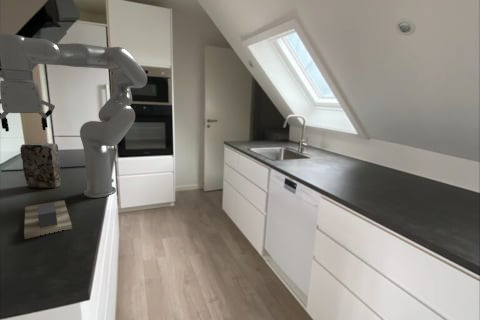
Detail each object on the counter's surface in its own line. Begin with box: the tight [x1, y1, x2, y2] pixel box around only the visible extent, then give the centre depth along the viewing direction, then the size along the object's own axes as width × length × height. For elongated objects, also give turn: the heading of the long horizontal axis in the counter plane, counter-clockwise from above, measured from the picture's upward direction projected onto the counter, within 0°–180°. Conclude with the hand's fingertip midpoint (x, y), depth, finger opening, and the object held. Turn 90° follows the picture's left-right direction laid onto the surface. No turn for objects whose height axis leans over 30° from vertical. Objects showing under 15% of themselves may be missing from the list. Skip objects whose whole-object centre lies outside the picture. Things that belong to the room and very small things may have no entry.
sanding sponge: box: [37, 203, 58, 230], centre depth 85 cm, size 8×4×5 cm, turn 38°
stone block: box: [19, 142, 62, 189], centre depth 119 cm, size 13×7×20 cm, turn 101°
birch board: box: [23, 199, 73, 240], centre depth 92 cm, size 24×12×2 cm, turn 38°
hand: (26, 130), depth 88 cm, fingers open, 9 cm apart
